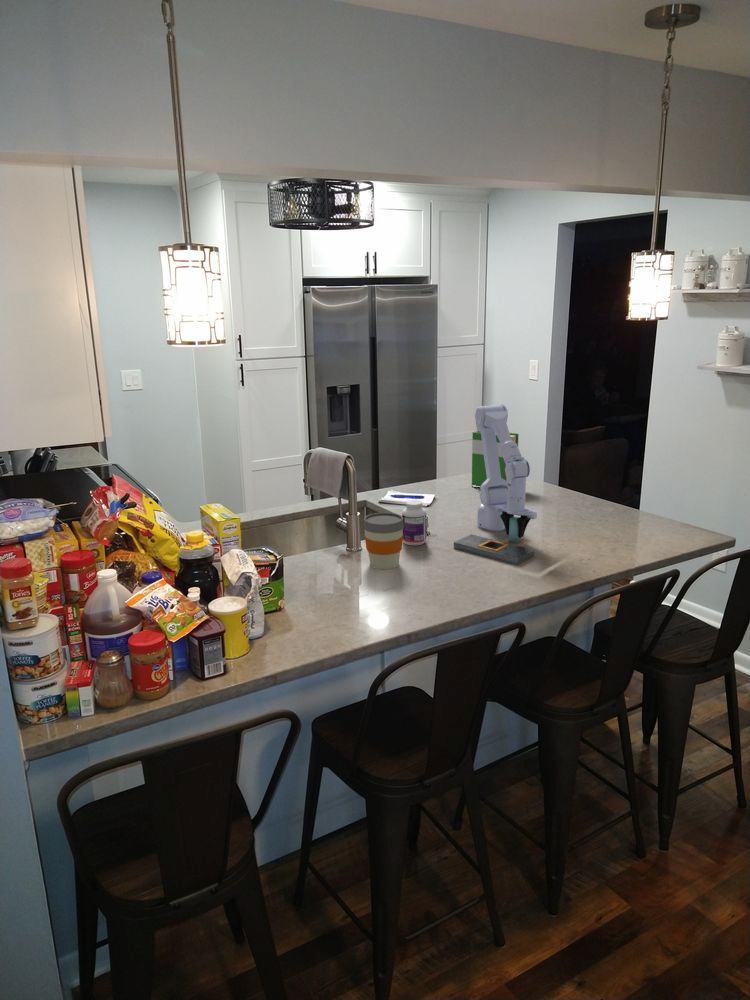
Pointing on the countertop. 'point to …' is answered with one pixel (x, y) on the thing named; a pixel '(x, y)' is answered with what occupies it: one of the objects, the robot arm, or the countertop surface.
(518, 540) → the peg
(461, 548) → the grey peg hole board
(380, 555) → the reusable coffee cup
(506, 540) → the brown square coaster
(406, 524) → the pill bottle
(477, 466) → the hardback book
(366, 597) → the countertop surface
